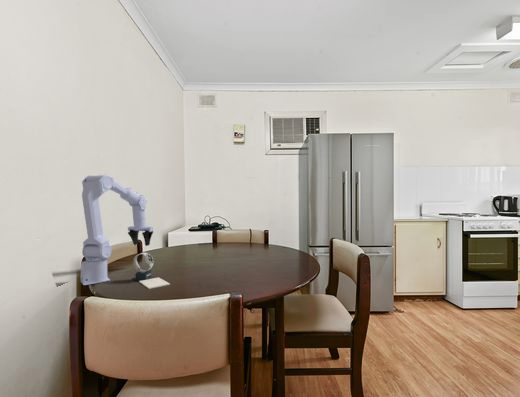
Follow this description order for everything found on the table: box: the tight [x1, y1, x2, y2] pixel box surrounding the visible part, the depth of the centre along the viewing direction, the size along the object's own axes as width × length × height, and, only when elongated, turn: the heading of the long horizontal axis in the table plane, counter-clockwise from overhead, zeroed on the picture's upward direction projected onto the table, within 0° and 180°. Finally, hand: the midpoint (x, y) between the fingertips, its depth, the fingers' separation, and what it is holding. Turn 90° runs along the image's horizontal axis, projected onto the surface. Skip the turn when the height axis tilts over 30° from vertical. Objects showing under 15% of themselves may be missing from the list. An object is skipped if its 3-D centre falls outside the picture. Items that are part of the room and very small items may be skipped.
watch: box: [133, 252, 155, 282], centre depth 117 cm, size 6×8×11 cm
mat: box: [138, 276, 171, 290], centre depth 111 cm, size 8×12×1 cm, turn 40°
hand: (141, 244), depth 142 cm, fingers open, 7 cm apart
